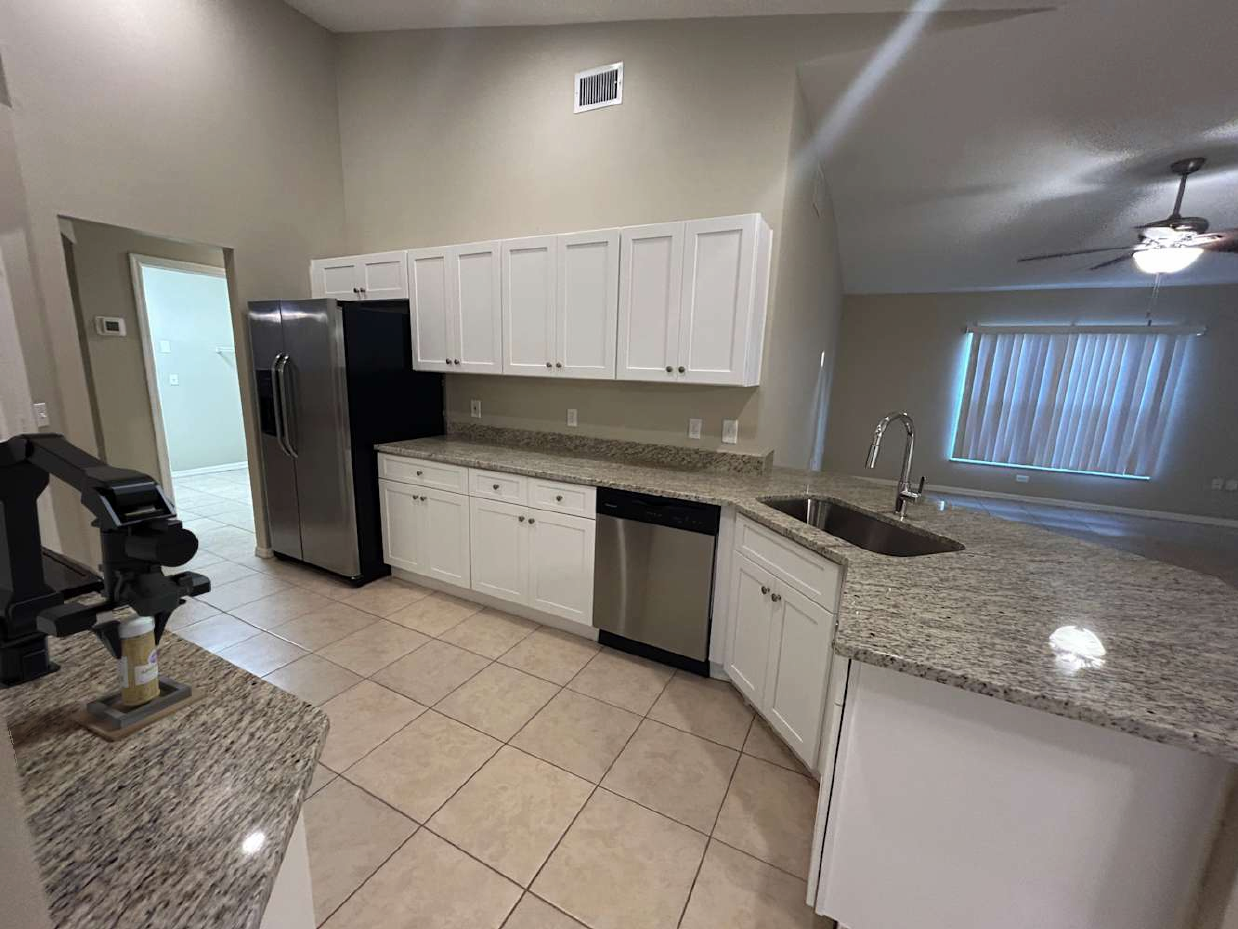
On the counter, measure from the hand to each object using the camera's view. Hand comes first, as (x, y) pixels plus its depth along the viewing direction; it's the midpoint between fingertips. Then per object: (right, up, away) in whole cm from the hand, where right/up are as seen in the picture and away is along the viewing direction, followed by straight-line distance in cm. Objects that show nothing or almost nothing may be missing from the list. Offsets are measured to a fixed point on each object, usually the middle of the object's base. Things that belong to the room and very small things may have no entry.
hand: (136, 652), depth 77 cm
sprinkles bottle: (0, -8, +1) cm, 8 cm away
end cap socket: (0, -9, +1) cm, 9 cm away
